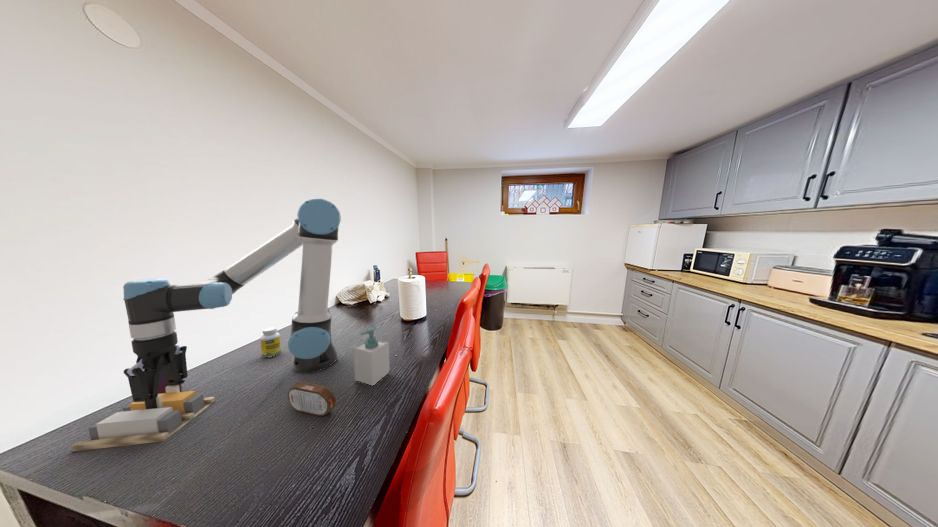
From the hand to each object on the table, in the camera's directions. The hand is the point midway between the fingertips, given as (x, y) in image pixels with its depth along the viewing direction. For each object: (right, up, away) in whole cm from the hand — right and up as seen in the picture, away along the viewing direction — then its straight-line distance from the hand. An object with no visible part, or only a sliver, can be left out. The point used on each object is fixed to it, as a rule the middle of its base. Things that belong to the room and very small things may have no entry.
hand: (166, 412), depth 68 cm
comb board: (+1, -2, -3) cm, 4 cm away
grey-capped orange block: (0, 0, 0) cm, 0 cm away
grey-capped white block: (+1, -1, -7) cm, 7 cm away
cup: (-11, 0, +10) cm, 15 cm away
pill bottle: (+1, +3, +35) cm, 35 cm away
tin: (+40, -2, +3) cm, 40 cm away
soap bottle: (+51, 0, +20) cm, 55 cm away
